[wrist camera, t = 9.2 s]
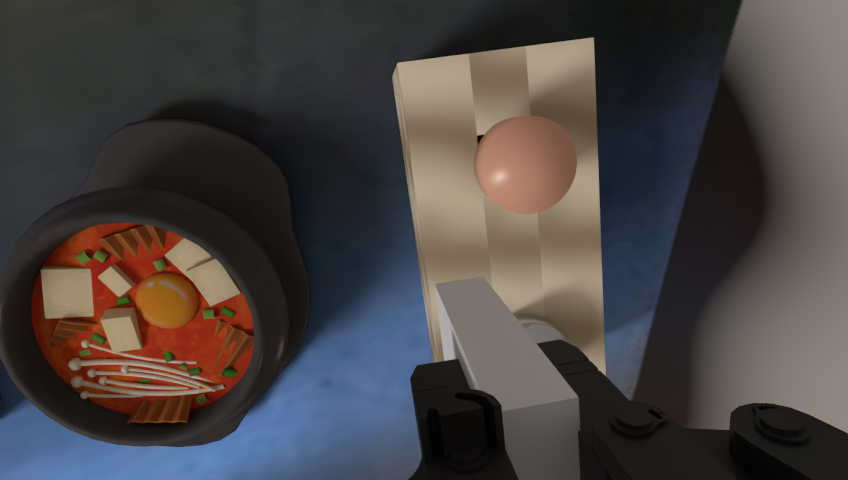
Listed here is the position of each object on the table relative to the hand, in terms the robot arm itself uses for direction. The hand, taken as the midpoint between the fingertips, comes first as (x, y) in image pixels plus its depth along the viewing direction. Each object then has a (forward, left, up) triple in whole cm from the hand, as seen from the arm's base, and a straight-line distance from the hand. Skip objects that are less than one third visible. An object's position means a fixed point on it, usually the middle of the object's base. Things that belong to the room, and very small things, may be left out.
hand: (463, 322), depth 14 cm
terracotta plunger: (+3, -5, -19) cm, 20 cm away
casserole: (-4, +18, -22) cm, 28 cm away
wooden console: (-3, -5, -22) cm, 23 cm away
